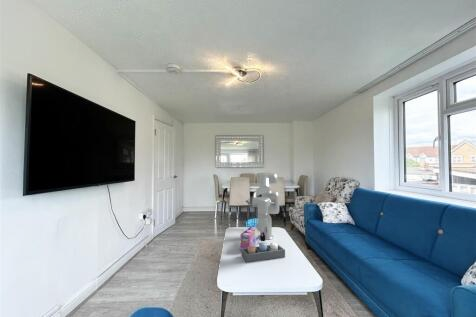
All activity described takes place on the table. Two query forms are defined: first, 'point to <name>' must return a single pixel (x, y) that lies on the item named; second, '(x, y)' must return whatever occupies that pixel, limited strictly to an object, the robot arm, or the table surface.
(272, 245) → the white rounded piece
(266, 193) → the robot arm
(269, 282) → the table surface
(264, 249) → the pale blue rounded piece
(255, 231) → the gum box
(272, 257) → the gray compartment tray
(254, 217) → the geometric lantern
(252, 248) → the peach rounded egg shape
